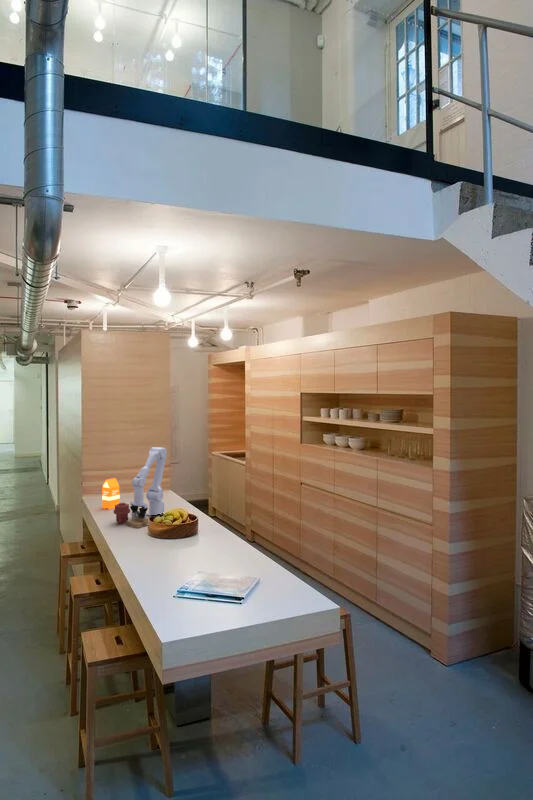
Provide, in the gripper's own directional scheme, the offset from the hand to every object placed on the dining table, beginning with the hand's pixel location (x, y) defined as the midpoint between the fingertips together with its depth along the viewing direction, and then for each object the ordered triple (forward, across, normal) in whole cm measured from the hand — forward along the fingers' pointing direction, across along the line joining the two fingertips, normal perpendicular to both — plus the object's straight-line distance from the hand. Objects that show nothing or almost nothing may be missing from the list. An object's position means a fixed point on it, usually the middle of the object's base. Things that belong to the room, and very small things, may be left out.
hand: (138, 517), depth 332 cm
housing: (+2, 0, 0) cm, 2 cm away
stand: (+1, +9, -7) cm, 11 cm away
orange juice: (+2, -42, +9) cm, 42 cm away
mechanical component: (+2, -2, -11) cm, 11 cm away
